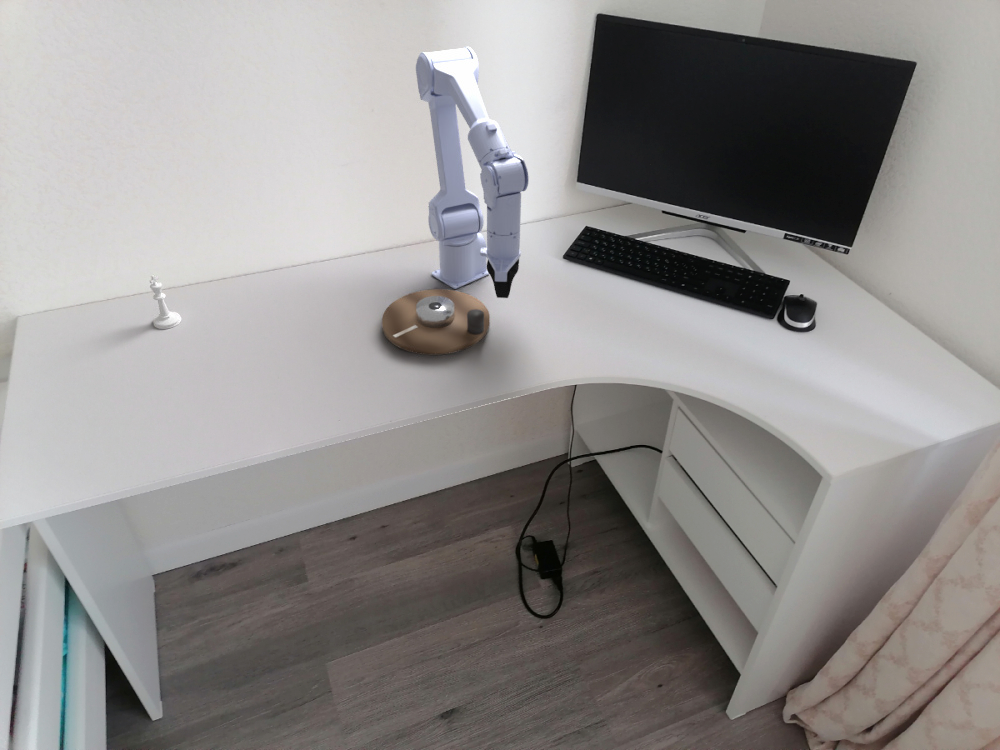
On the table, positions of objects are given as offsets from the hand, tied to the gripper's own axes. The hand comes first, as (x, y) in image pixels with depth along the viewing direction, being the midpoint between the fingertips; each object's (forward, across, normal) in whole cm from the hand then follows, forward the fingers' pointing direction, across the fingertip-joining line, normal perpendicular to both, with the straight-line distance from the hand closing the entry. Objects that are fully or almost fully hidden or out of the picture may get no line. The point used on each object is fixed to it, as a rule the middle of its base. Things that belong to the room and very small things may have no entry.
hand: (502, 295), depth 133 cm
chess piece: (+7, +3, -63) cm, 64 cm away
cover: (+5, +1, -12) cm, 13 cm away
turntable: (+6, +1, -12) cm, 14 cm away
